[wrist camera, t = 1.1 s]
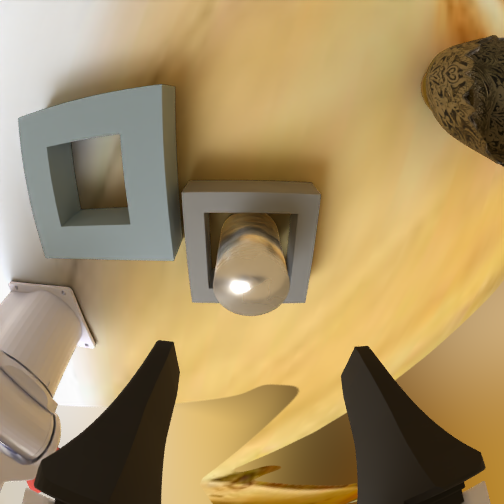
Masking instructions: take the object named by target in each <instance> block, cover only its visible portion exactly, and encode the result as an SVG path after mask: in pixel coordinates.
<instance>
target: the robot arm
mask: <svg viewBox="0 0 504 504" xmlns="http://www.w3.org/2000/svg"><path fill="white" fill-rule="evenodd" d="M9 288H10V290H11V292H10V293H9V294H8V296H7V297H6V298H5V299H4V301H3V302H2V303H1V304H0V441H1V442H2V443H4V444H5V445H4V444H2V443H1V442H0V491H1V489H2V486H3V484H4V483H5V482H11V481H27V480H33V479H35V481H34V487H35V488H36V489H38V490H39V491H41V492H43V493H45V494H47V495H49V496H51V497H53V498H55V500H52V499H50V498H47V497H45V496H43V495H41V494H39V493H37V492H35V491H33V490H31V489H29V488H26V490H25V494H24V498H23V502H22V504H161V485H162V471H163V459H164V450H165V443H166V437H167V433H168V429H169V425H170V421H171V417H172V413H173V408H174V405H175V400H176V396H177V390H178V382H179V374H180V371H179V366H178V361H177V357H176V352H175V346H174V342H169V341H161V340H158V341H157V342H156V344H155V345H154V347H153V348H152V350H151V352H150V353H149V355H148V356H147V358H146V359H145V361H144V362H143V364H142V365H141V367H140V368H139V369H138V371H137V372H136V374H135V375H134V376H133V378H132V379H131V380H130V382H129V383H128V384H127V386H126V387H125V388H124V389H123V391H122V392H121V393H120V394H119V395H118V397H117V398H116V399H115V400H114V401H113V403H112V404H111V405H110V406H109V407H108V408H107V409H106V410H105V411H104V412H103V413H102V414H101V415H100V416H99V417H98V418H97V419H96V420H95V421H94V422H93V423H92V424H91V425H90V426H89V427H88V428H86V429H85V430H84V431H83V432H82V433H80V434H79V435H78V436H77V437H75V438H74V439H73V440H71V441H70V442H69V443H67V444H66V445H65V446H63V447H62V448H60V449H59V450H57V451H56V449H57V447H58V445H59V442H60V436H61V425H60V419H59V417H58V415H57V414H56V413H55V410H56V408H57V405H58V404H57V403H56V402H55V401H54V400H53V396H54V394H55V392H56V389H57V387H58V385H59V382H60V380H61V378H62V376H63V373H64V371H65V369H66V367H67V365H68V363H69V360H70V358H71V356H72V354H73V352H74V350H75V348H76V346H80V347H86V348H95V346H96V344H95V342H94V340H93V338H92V336H91V333H90V331H89V329H88V327H87V325H86V322H85V320H84V318H83V315H82V313H81V310H80V308H79V306H78V303H77V301H76V298H75V295H74V293H73V291H72V289H71V288H69V287H63V286H51V285H41V284H30V283H21V282H12V281H11V282H10V283H9ZM341 380H342V389H343V396H344V401H345V405H346V409H347V413H348V417H349V421H350V425H351V429H352V434H353V438H354V443H355V449H356V459H357V471H358V472H357V475H358V501H357V504H490V500H489V496H488V492H487V488H486V484H485V482H484V481H483V482H481V483H479V484H478V485H476V486H474V487H473V488H470V489H469V490H467V491H465V492H463V493H462V490H461V489H463V488H464V487H465V484H464V481H466V480H468V479H469V478H471V477H473V476H475V475H476V474H478V473H480V472H481V471H483V470H484V469H485V464H484V461H483V458H482V455H481V452H479V451H477V450H475V449H473V448H471V447H469V446H467V445H466V444H464V443H462V442H461V441H459V440H458V439H456V438H454V437H453V436H452V435H450V434H449V433H447V432H446V431H445V430H444V429H442V428H441V427H440V426H438V425H437V424H436V423H435V422H434V421H432V420H431V419H430V418H429V417H428V416H427V415H426V414H425V413H424V412H423V411H422V410H420V409H419V407H418V406H417V405H416V404H415V403H414V402H413V401H412V400H411V399H410V398H409V397H408V396H407V394H406V393H405V392H404V391H403V390H402V389H401V387H400V386H399V385H398V384H397V382H396V381H395V380H394V379H393V378H392V376H391V375H390V374H389V372H388V371H387V370H386V369H385V367H384V366H383V365H382V363H381V362H380V361H379V359H378V358H377V357H376V356H375V354H374V353H373V352H372V350H371V349H370V348H369V347H368V346H361V347H355V348H354V350H353V352H352V354H351V356H350V358H349V361H348V363H347V365H346V367H345V369H344V371H343V373H342V375H341Z"/></svg>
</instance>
